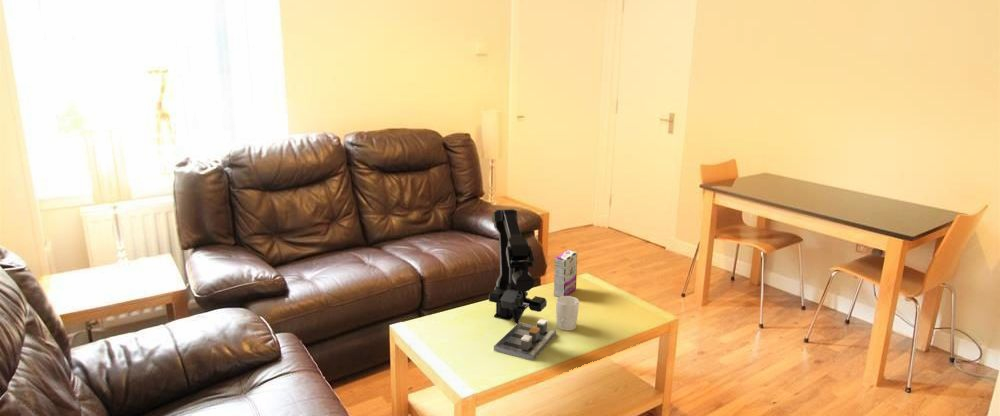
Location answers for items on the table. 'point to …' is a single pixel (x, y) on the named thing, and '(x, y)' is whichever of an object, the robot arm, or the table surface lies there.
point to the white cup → (567, 312)
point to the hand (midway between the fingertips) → (516, 323)
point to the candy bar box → (565, 273)
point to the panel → (513, 342)
